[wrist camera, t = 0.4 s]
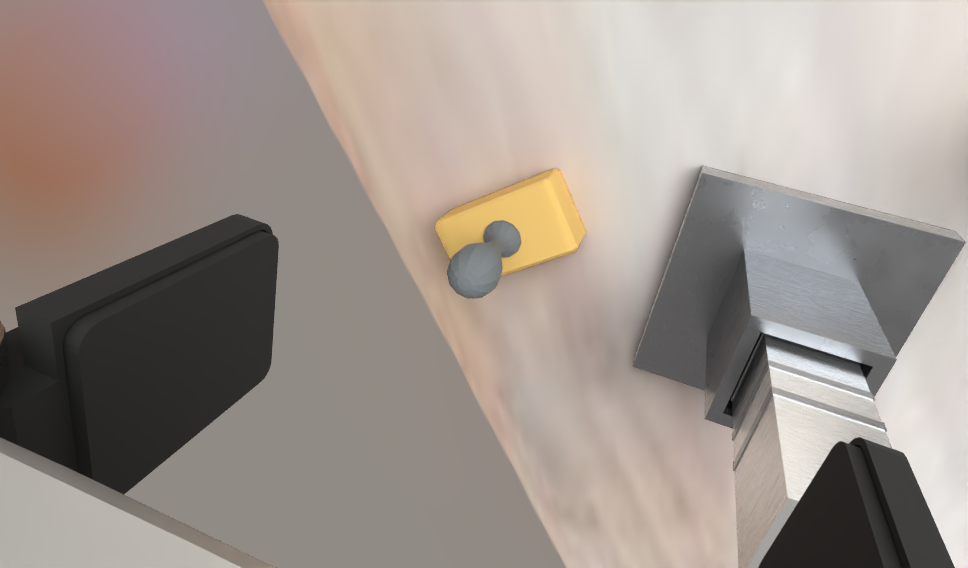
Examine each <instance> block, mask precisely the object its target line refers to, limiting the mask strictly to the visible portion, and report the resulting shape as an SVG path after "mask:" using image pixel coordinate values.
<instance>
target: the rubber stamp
mask: <svg viewBox="0 0 968 568" xmlns="http://www.w3.org/2000/svg"><path fill="white" fill-rule="evenodd" d="M434 228H435V230H436V232H437V234H438V236H439V238H440V240H441V242H442V244H443V246H444V248H445V250H446V252H447V254H448V256H449V258H450V260H451V261H450V264H449V267H448V270H447V275H448V279H449V283H450V285H451V287H452V288H453V289H454V290H455V291H456V293H457V294H459V295H462V296H464V297H466V298H481V297H483V296H485V295H486V294H488V293H489V292H491V291H492V290H493V289H495V287H496V286H497V284H498V281H499V279H500V277H501V276H505V275H508V274H511V273H514V272H517V271H520V270H523V269H526V268H529V267H532V266H535V265H538V264H541V263H544V262H547V261H550V260H553V259H556V258H559V257H562V256H565V255H568V254H571V253H574V252H576V251H577V249H578V247H579V245H580V243H581V241H582V239H583V237H584V235H585V233H586V229H585V227H584V225H583V222H582V220H581V218H580V215H579V213H578V210H577V208H576V206H575V203H574V201H573V199H572V196H571V194H570V192H569V189H568V187H567V184H566V182H565V180H564V177H563V175H562V173H561V170H559V169H555V168H554V169H551V170H549V171H546V172H544V173H541V174H539V175H536V176H534V177H531V178H529V179H526V180H524V181H521V182H519V183H516V184H514V185H511V186H509V187H506V188H504V189H501V190H499V191H496V192H494V193H491V194H489V195H486V196H484V197H481V198H479V199H476V200H474V201H471V202H469V203H466V204H464V205H461V206H459V207H456V208H454V209H452V210H450V211H449V212H448V213H446V214H445V215H444V216H443V217H442V218H440V219H439V220H438V221H437V223H436V225H435V227H434Z"/></svg>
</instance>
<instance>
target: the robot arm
mask: <svg viewBox="0 0 968 568" xmlns="http://www.w3.org/2000/svg"><path fill="white" fill-rule="evenodd" d="M278 246H279V245H278V239H277V238H276V237H275V236H274V235H273V233H272V230H271V228H270V227H269V225H267V224H265V223H262V222H259V221H256V220H253V219H250V218H248V217H245V216H242V215H239V214H236V215H232V216H229V217H227V218H225V219H222V220H220V221H218V222H215V223H213V224H211V225H208V226H206V227H204V228H201V229H199V230H197V231H194V232H192V233H189V234H187V235H185V236H182V237H180V238H178V239H175V240H173V241H171V242H168V243H166V244H164V245H161V246H159V247H157V248H154V249H152V250H150V251H147V252H145V253H143V254H140V255H138V256H135V257H133V258H131V259H128V260H126V261H124V262H122V263H119V264H117V265H114V266H112V267H110V268H107V269H105V270H103V271H100V272H98V273H96V274H93V275H91V276H89V277H86V278H84V279H81V280H79V281H77V282H75V283H72V284H70V285H68V286H65V287H63V288H60V289H58V290H56V291H53V292H51V293H49V294H46V295H44V296H42V297H39V298H37V299H35V300H32V301H30V302H28V303H25V304H23V305H21V306H18V307H16V308H15V309H16V315H17V321H18V327H17V328H15V329H13V330H11V331H9V332H5V327H4V326H3V324H2V323H1V321H0V568H276V567H274V566H272V565H270V564H268V563H266V562H264V561H262V560H260V559H258V558H256V557H254V556H251V555H249V554H247V553H245V552H243V551H241V550H239V549H237V548H235V547H233V546H230V545H229V544H226V543H224V542H222V541H220V540H218V539H216V538H214V537H212V536H210V535H208V534H206V533H203V532H201V531H199V530H197V529H195V528H193V527H191V526H189V525H186V524H185V523H182V522H180V521H178V520H176V519H174V518H172V517H170V516H168V515H166V514H163V513H161V512H159V511H157V510H155V509H153V508H151V507H149V506H147V505H145V504H142V503H140V502H138V501H136V500H134V499H132V498H130V497H128V496H125V495H124V494H125V493H126V492H127V491H129V490H130V489H131V488H132V487H133V486H135V485H136V484H137V483H138V482H140V481H141V480H142V479H143V478H144V477H146V476H147V475H148V474H149V473H151V472H152V471H153V470H154V469H155V468H156V467H158V466H159V465H160V464H162V463H163V462H164V461H165V460H166V459H167V458H169V457H170V456H171V455H172V454H174V453H175V452H176V451H177V450H178V449H180V448H181V447H182V446H183V445H185V444H186V443H187V442H188V441H189V440H191V439H192V438H193V437H194V436H196V435H197V434H198V433H199V432H200V431H202V430H203V429H204V428H205V427H206V426H208V425H209V424H210V423H211V422H212V421H214V420H215V419H216V418H217V417H219V416H220V415H221V414H222V413H223V412H225V411H226V410H227V409H228V408H230V407H231V406H232V405H233V404H234V403H235V402H237V401H238V400H239V399H240V398H242V397H243V396H244V395H245V394H246V393H248V392H249V391H250V390H251V389H253V388H254V387H255V386H256V385H258V384H259V383H260V382H261V381H262V380H263V379H264V378H265V376H266V375H267V373H268V371H269V368H270V365H271V357H272V342H273V326H274V325H273V324H274V311H275V294H276V279H277V263H278V248H279V247H278ZM758 568H955V567H954V565H953V563H952V560H951V558H950V556H949V554H948V551H947V549H946V547H945V544H944V542H943V540H942V538H941V535H940V533H939V531H938V528H937V526H936V524H935V522H934V519H933V517H932V515H931V512H930V510H929V508H928V506H927V503H926V501H925V499H924V496H923V494H922V492H921V490H920V487H919V485H918V483H917V480H916V478H915V476H914V474H913V471H912V469H911V467H910V464H909V462H908V460H907V458H906V456H905V455H904V453H902V452H900V451H897V450H894V449H892V448H889V447H886V446H883V445H880V444H878V443H875V442H872V441H869V440H866V439H864V438H861V437H858V438H854V439H853V440H852V441H851V442H850V443H849V444H848V443H845V442H843V441H840V442H838V443H836V444H835V445H834V446H833V448H832V449H831V451H830V452H829V454H828V455H827V457H826V459H825V460H824V462H823V463H822V465H821V467H820V468H819V470H818V471H817V473H816V475H815V476H814V478H813V479H812V481H811V483H810V484H809V486H808V487H807V489H806V491H805V492H804V494H803V495H802V497H801V499H800V500H799V502H798V503H797V505H796V507H795V508H794V510H793V511H792V513H791V515H790V516H789V518H788V519H787V521H786V523H785V524H784V526H783V527H782V529H781V531H780V532H779V534H778V535H777V537H776V539H775V540H774V542H773V543H772V545H771V547H770V548H769V550H768V551H767V553H766V555H765V556H764V558H763V559H762V561H761V563H760V565H759V567H758Z"/></svg>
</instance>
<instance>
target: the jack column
mask: <svg viewBox="0 0 968 568" xmlns="http://www.w3.org/2000/svg"><path fill="white" fill-rule="evenodd" d="M874 400H875V399H874V396H873V394H872V393H871V392H870V390H869V388H868V385H867V383H866V380H865V377H864V375H863V372H862V370H861V367H860V364H859V362H856V361H853V360H850V359H846V358H843V357H840V356H837V355H833V354H830V353H827V352H824V351H821V350H817V349H814V348H811V347H808V346H804V345H801V344H798V343H795V342H791V341H788V340H785V339H782V338H778V337H775V336H772V335H769V334H766V333H762V332H761V333H760V335H759V337H758V339H757V341H756V343H755V345H754V348H753V350H752V352H751V354H750V356H749V358H748V360H747V363H746V365H745V367H744V369H743V371H742V373H741V375H740V378H739V380H738V382H737V384H736V386H735V388H734V391H733V393H732V395H731V401H732V416H733V432H732V440H733V441H734V462H733V471H735V491H736V516H737V541H738V566H739V568H758V567H759V565H760V563H761V561H762V559H763V558H764V556H765V555H766V553H767V551H768V550H769V548H770V547H771V545H772V543H773V542H774V540H775V539H776V537H777V535H778V534H779V532H780V531H781V529H782V527H783V526H784V524H785V523H786V521H787V519H788V518H789V516H790V515H791V513H792V511H793V510H794V508H795V507H796V505H797V503H798V502H799V500H800V499H801V497H802V495H803V494H804V492H805V491H806V489H807V487H808V486H809V484H810V483H811V481H812V479H813V478H814V476H815V475H816V473H817V471H818V470H819V468H820V467H821V465H822V463H823V462H824V460H825V459H826V457H827V455H828V454H829V452H830V451H831V449H832V448H833V446H834V445H835V444H836V443H838V442H840V441H843V442H845V443H848V444H849V443H850V442H851V441H852V440H853V439H854V438H858V437H861V438H864V439H866V440H869V441H872V442H875V443H878V444H880V445H883V446H886V447H889V448H892V447H891V445H890V442H889V440H888V437H887V434H886V431H887V430H886V427H885V425H884V423H883V422H882V421H881V419H880V416H879V414H878V411H877V409H876V406H875V403H874Z"/></svg>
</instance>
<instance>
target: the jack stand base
mask: <svg viewBox="0 0 968 568" xmlns="http://www.w3.org/2000/svg"><path fill="white" fill-rule="evenodd" d="M964 244H965V241H964V240H963V239H962V238H961V237H960V236H959V235H958V234H957V233H956V232H955V231H952V230H949V229H945V228H941V227H937V226H933V225H929V224H925V223H922V222H918V221H914V220H910V219H906V218H902V217H898V216H895V215H891V214H887V213H883V212H879V211H875V210H872V209H868V208H864V207H860V206H856V205H852V204H848V203H845V202H841V201H837V200H833V199H829V198H825V197H822V196H818V195H814V194H810V193H806V192H802V191H798V190H795V189H791V188H787V187H783V186H779V185H775V184H771V183H768V182H764V181H760V180H756V179H752V178H748V177H745V176H741V175H737V174H733V173H729V172H725V171H721V170H718V169H714V168H710V167H706V166H702V169H701V172H700V175H699V177H698V180H697V183H696V186H695V189H694V191H693V194H692V197H691V200H690V203H689V205H688V208H687V211H686V214H685V217H684V219H683V222H682V225H681V228H680V231H679V233H678V236H677V239H676V242H675V245H674V247H673V250H672V253H671V256H670V259H669V261H668V264H667V267H666V270H665V273H664V275H663V278H662V281H661V284H660V287H659V289H658V292H657V295H656V298H655V301H654V303H653V306H652V309H651V312H650V315H649V317H648V320H647V323H646V326H645V329H644V331H643V334H642V337H641V340H640V343H639V345H638V348H637V351H636V354H635V359H634V363H633V366H634V367H637V368H640V369H643V370H646V371H649V372H652V373H655V374H658V375H661V376H664V377H667V378H670V379H673V380H676V381H679V382H682V383H685V384H688V385H691V386H694V387H697V388H700V389H703V390H705V419H707V420H710V421H713V422H715V423H718V424H721V425H724V426H727V427H730V428H733V416H732V401H731V395H732V393H733V391H734V388H735V386H736V384H737V382H738V380H739V378H740V375H741V373H742V371H743V369H744V367H745V365H746V363H747V360H748V358H749V356H750V354H751V352H752V350H753V348H754V345H755V343H756V341H757V339H758V337H759V335H760V333H761V332H762V333H766V334H769V335H772V336H775V337H778V338H782V339H785V340H788V341H791V342H795V343H798V344H801V345H804V346H808V347H811V348H814V349H817V350H821V351H824V352H827V353H830V354H833V355H837V356H840V357H843V358H846V359H850V360H853V361H856V362H859V364H860V367H861V370H862V372H863V375H864V377H865V380H866V383H867V385H868V388H869V390H870V392H871V393H872V394H873V396H875V395H876V393H877V392H878V390H879V388H880V387H881V385H882V383H883V382H884V380H885V378H886V377H887V375H888V373H889V372H890V370H891V368H892V367H893V365H894V364H895V362H896V360H897V359H896V356H897V355H898V353H899V351H900V350H901V348H902V346H903V345H904V343H905V341H906V340H907V338H908V337H909V335H910V333H911V332H912V330H913V328H914V327H915V325H916V323H917V322H918V320H919V318H920V317H921V315H922V313H923V312H924V310H925V308H926V307H927V305H928V303H929V302H930V300H931V299H932V297H933V295H934V294H935V292H936V290H937V289H938V287H939V285H940V284H941V282H942V280H943V279H944V277H945V275H946V274H947V272H948V270H949V269H950V267H951V265H952V264H953V262H954V261H955V259H956V257H957V256H958V254H959V252H960V251H961V249H962V247H963V246H964Z"/></svg>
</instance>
